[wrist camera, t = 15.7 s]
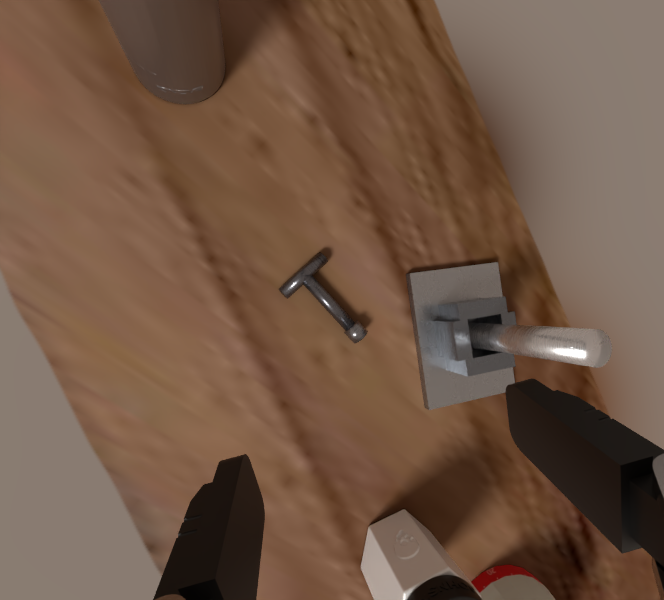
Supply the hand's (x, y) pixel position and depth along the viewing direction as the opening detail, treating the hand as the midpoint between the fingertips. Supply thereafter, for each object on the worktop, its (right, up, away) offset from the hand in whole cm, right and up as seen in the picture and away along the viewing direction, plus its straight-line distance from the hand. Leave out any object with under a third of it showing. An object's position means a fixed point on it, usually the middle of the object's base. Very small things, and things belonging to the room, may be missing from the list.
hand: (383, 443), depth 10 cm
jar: (+6, -24, +29) cm, 38 cm away
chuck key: (-2, +4, +28) cm, 28 cm away
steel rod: (+14, 0, +30) cm, 33 cm away
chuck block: (+14, 0, +31) cm, 34 cm away
